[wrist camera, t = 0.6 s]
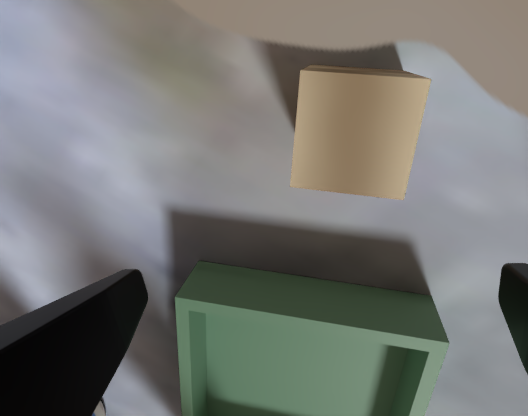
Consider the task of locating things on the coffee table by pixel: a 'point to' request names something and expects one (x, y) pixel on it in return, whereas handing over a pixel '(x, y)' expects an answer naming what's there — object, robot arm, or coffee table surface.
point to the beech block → (357, 129)
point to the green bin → (303, 346)
